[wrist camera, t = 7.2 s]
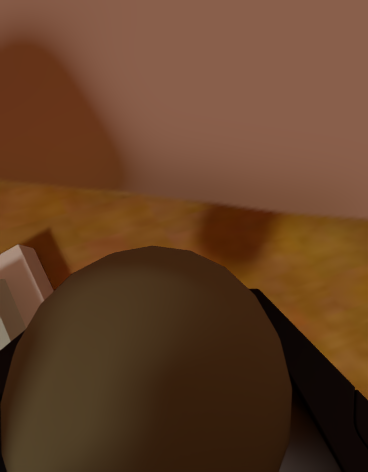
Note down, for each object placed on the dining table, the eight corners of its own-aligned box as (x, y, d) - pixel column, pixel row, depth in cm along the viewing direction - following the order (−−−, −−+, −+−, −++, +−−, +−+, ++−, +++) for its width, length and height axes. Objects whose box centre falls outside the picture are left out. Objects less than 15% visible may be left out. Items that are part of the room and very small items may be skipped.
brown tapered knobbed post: (209, 252, 15) (256, 155, 4) (247, 356, 14) (459, 603, 3) (111, 286, 15) (-108, 277, 4) (142, 395, 13) (-60, 833, 3)
